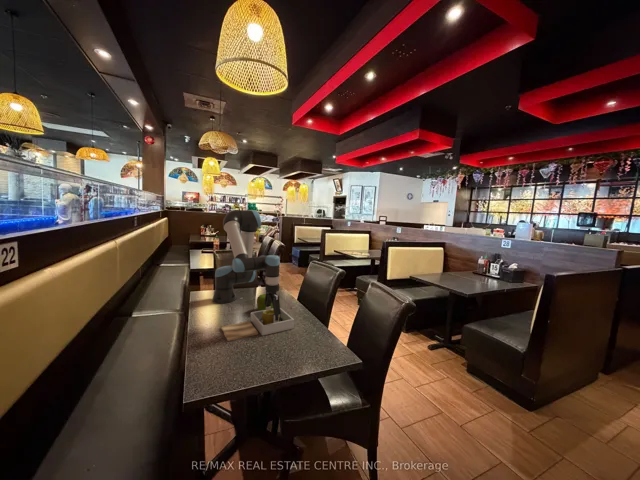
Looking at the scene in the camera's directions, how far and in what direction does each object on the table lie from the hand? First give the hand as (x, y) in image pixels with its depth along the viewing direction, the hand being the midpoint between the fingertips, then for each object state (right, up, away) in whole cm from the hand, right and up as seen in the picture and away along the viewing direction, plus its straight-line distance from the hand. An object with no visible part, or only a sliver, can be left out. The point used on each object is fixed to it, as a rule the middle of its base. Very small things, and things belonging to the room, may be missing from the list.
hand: (271, 321), depth 143 cm
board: (-15, -2, -9) cm, 18 cm away
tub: (0, -2, 0) cm, 2 cm away
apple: (-8, 0, +20) cm, 22 cm away
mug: (0, -2, +1) cm, 2 cm away
